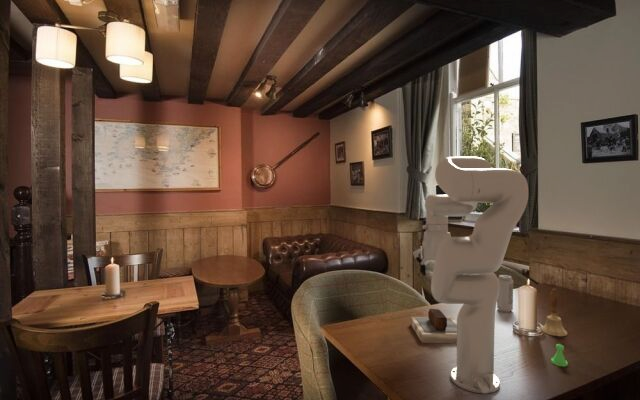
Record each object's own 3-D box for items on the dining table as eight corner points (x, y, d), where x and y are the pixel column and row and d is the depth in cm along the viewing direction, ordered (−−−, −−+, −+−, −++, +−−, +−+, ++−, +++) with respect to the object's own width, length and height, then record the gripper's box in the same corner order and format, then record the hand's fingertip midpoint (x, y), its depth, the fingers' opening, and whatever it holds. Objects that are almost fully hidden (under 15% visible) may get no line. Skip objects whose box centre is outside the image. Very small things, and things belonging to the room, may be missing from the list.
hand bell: (538, 332, 133) (539, 289, 132) (543, 325, 139) (544, 284, 138) (565, 338, 127) (566, 294, 126) (569, 331, 133) (570, 289, 132)
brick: (447, 330, 126) (447, 317, 126) (435, 330, 126) (436, 317, 126) (438, 319, 137) (438, 307, 137) (428, 319, 137) (428, 307, 137)
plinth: (468, 342, 124) (468, 333, 124) (422, 342, 124) (422, 333, 124) (451, 324, 140) (452, 316, 140) (410, 324, 140) (410, 316, 140)
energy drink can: (499, 307, 159) (500, 273, 158) (514, 310, 155) (515, 276, 154) (494, 310, 155) (495, 276, 154) (510, 314, 151) (510, 278, 150)
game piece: (549, 363, 110) (549, 343, 110) (552, 358, 113) (553, 339, 113) (565, 368, 107) (566, 348, 107) (569, 363, 110) (569, 343, 110)
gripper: (415, 229, 128) (415, 277, 129) (464, 229, 128) (464, 277, 128) (410, 227, 135) (410, 272, 136) (456, 227, 135) (456, 272, 136)
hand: (436, 274), depth 132 cm, fingers open, 9 cm apart
